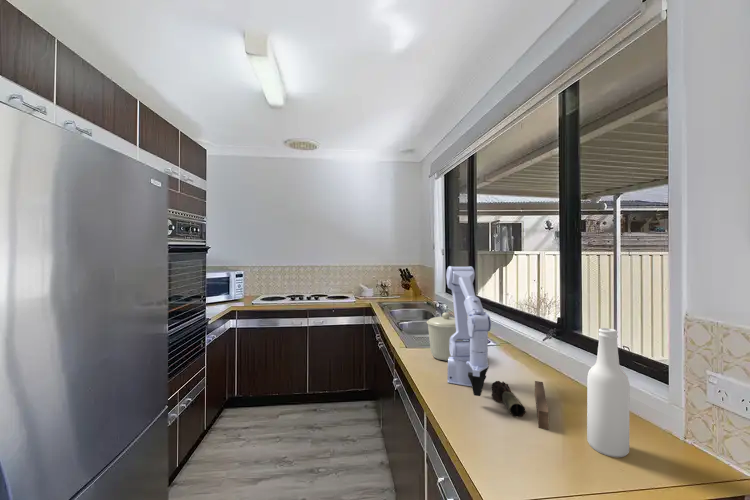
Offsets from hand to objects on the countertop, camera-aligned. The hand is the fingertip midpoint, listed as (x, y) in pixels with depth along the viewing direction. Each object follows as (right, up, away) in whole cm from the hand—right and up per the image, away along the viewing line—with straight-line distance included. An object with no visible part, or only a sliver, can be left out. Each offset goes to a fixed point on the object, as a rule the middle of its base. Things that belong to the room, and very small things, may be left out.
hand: (478, 391), depth 113 cm
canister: (-1, -3, +45) cm, 45 cm away
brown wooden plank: (+17, -3, -7) cm, 19 cm away
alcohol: (+24, -3, -28) cm, 37 cm away
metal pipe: (+8, -3, -3) cm, 9 cm away
